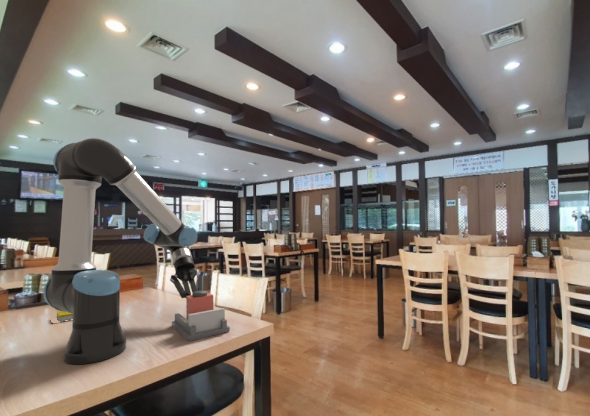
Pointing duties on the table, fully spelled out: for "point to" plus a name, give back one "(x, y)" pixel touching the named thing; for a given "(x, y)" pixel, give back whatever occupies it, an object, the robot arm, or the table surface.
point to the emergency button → (64, 316)
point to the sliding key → (199, 302)
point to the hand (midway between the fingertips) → (196, 311)
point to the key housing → (201, 324)
